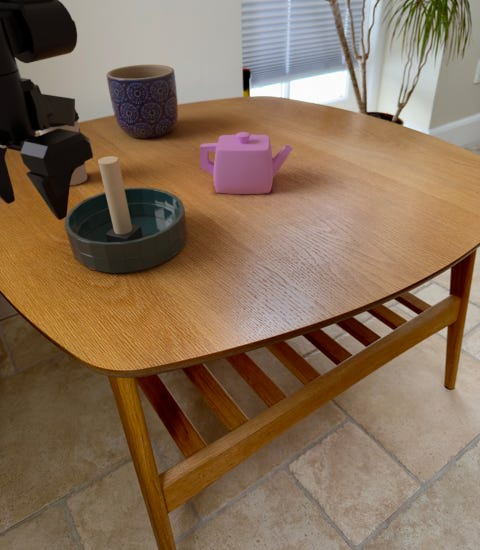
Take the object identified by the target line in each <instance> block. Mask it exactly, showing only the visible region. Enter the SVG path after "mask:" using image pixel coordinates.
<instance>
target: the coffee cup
mask: <svg viewBox="0 0 480 550" xmlns="http://www.w3.org/2000/svg"><path fill="white" fill-rule="evenodd" d="M79 119H80V117H79V113H78V112H77V109H75V126H68V125H67V124H61V123H49V126H50V128H48V129H45V130H43V131H40V130H38V133H39V135H38V136H40V135H42V134H45V133H47V132H50V131H53V130H55V129H58V128H59V129H64V130H69V131H75V132H80V133H82V131H81V128H80V126H79ZM87 180H88V173H87V167H86V162H85V163H84V164H83V165H82V166H80V167H78V168H76V169H75V171H74V172H73V174H72V178H71V182H70V186H76V185H80V184H83V183H85V182H86V181H87Z"/></svg>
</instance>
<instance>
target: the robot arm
mask: <svg viewBox="0 0 480 550" xmlns="http://www.w3.org/2000/svg"><path fill="white" fill-rule="evenodd" d="M77 43H78V29H77V25H76V21H75V20H74V19H73V18H72V16H71V14H70V12H69V10H68V9H67V7H66V6H65V5H64V4H63V3H62V2H61V1H60V0H0V199H1V200H2V201H3V202H4V203H5V204H7V205H10V204H12V203H14V202H15V201H16V198H15V192H14V187H13V184H12V180H11V177H10V173H9V169H8V166H7V162H6V154H7V150H12V151H17V152H19V154H20V157H21V160H22V163H23V165H25V167H26V168H27V169H28V170H29V171H28V172H26V173H25V174H26V176H27V177H28V179H29V181H30V182H31V183H32V185H33V187H34V188H35V190H36V191H37V192H38V195H40V197H41V198H42V199H43V201H44V202H45V204H46V206H47V207H48V209H49V210H50V211H51V213H52V214H53V215H54V216H55V218H56V219H57V220H59V221H61V220H64V219H65V218H66V216H67V215H68V207H69V196H70V189H71V185H70V182H71V178H72V174H73V172H74V171H75V169H76V168H78V167H80V166H82V165H83V164H84V163H85V164H86V162H87V161H89V160H91V159H94V153H93V148H92V144H91V140H90V138H89V137H87V136H86V135H85V134H83V133H82V132H81V131H80V132H81V133H80V132H75V131H69V130H64V129H59V128H58V129H55V130H53V131H50V132H47V133H45V134H42V135H37V133H36V132H39V130H40V131H43V130H45V129H48V128H50V126H49V123H61V124H67V125H68V126H75V110H76V98H71V97H67V96H58V95H51V94H45V93H42V91H41V88H40V86H39V85H38V84H35V83H34V82H33V81H32V79H31V78H24V77H22V76H21V73H20V70H19V65H18V64H17V60H18V61H19V62H21V63H24V64H31V63H34V62H38V61H43V60H47V59H52V58H56V57H60V56H64V55H68V54H71V53H72V52H73V51H74V50H75V48H76V46H77Z"/></svg>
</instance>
